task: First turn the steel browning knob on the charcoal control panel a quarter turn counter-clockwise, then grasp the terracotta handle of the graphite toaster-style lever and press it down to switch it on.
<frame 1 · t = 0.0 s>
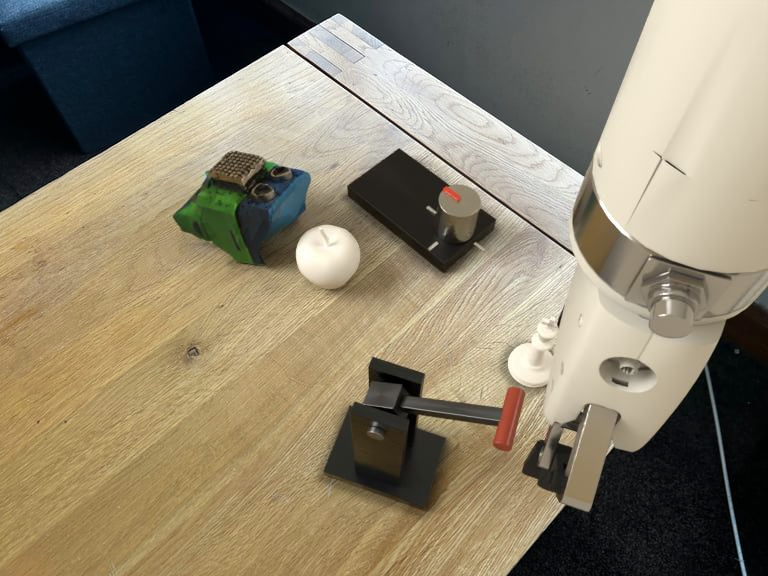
hand: (566, 400, 39), 27 cm above the table, tool pointing down, fingers open, 9 cm apart
lever: (441, 409, 50), point 16 cm above the table, hinge at 25.0°
plain white apple: (330, 275, 75), on the table
chess piece: (530, 366, 69), on the table
dial panel: (419, 212, 80), on the table
knob: (457, 213, 74), point 5 cm above the table, hinge at 0.0°
sculpture: (246, 227, 79), on the table
lever bracket: (385, 458, 64), on the table
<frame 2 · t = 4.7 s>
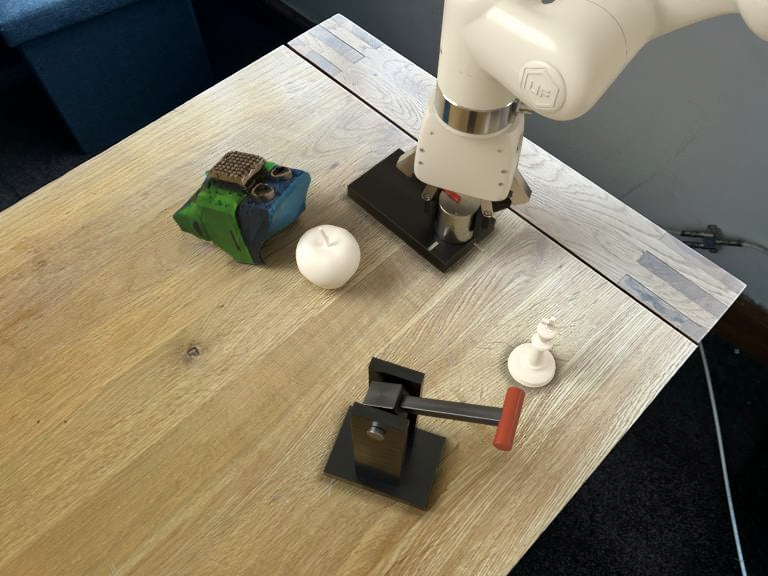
hand: (456, 221, 75), 3 cm above the table, tool pointing down, fingers closed on knob, 4 cm apart
knob: (457, 213, 74), point 5 cm above the table, hinge at 0.1°, touching gripper
everything else where it was.
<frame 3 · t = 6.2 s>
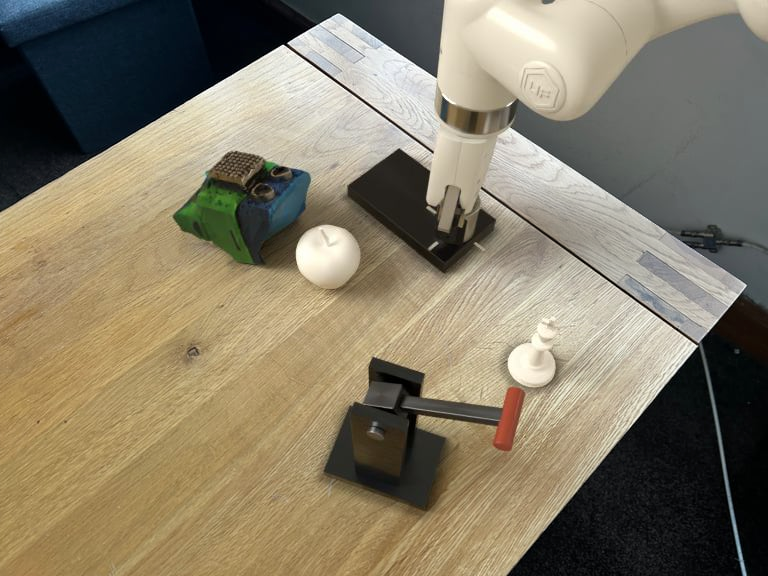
hand: (455, 221, 75), 3 cm above the table, tool pointing down, fingers closed on knob, 4 cm apart
knob: (457, 213, 74), point 5 cm above the table, hinge at 90.5°, touching gripper
everything else where it was.
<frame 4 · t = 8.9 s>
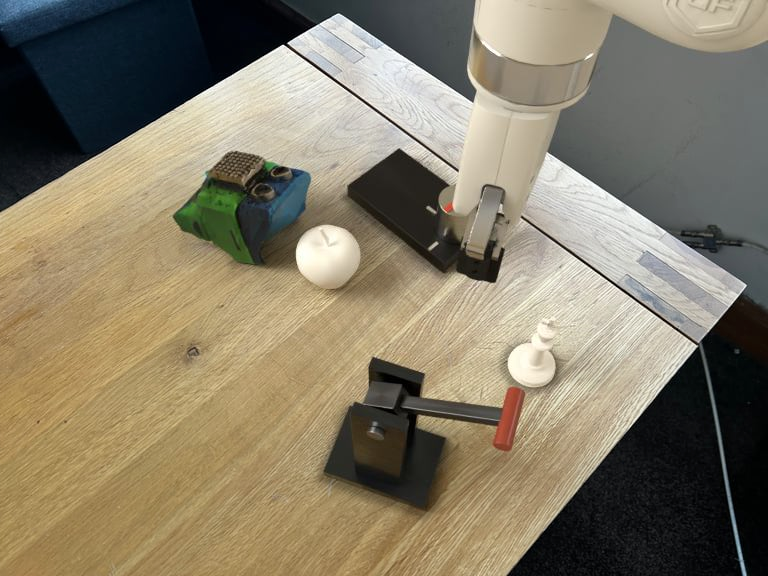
hand: (493, 228, 54), 20 cm above the table, tool pointing down, fingers open, 9 cm apart
knob: (457, 213, 74), point 5 cm above the table, hinge at 89.0°
everything else where it was.
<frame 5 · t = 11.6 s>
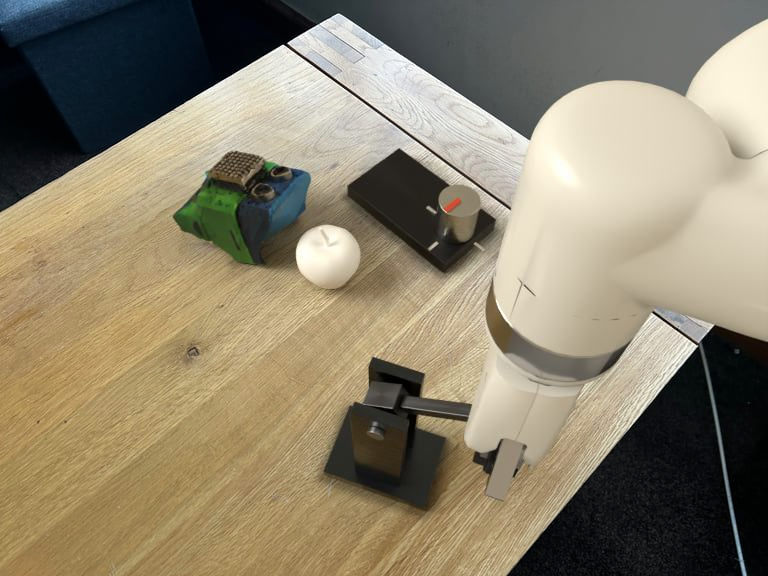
hand: (503, 431, 49), 16 cm above the table, tool pointing down, fingers closed on lever, 4 cm apart
lever: (441, 409, 50), point 16 cm above the table, hinge at 25.0°, touching gripper
everything else where it was.
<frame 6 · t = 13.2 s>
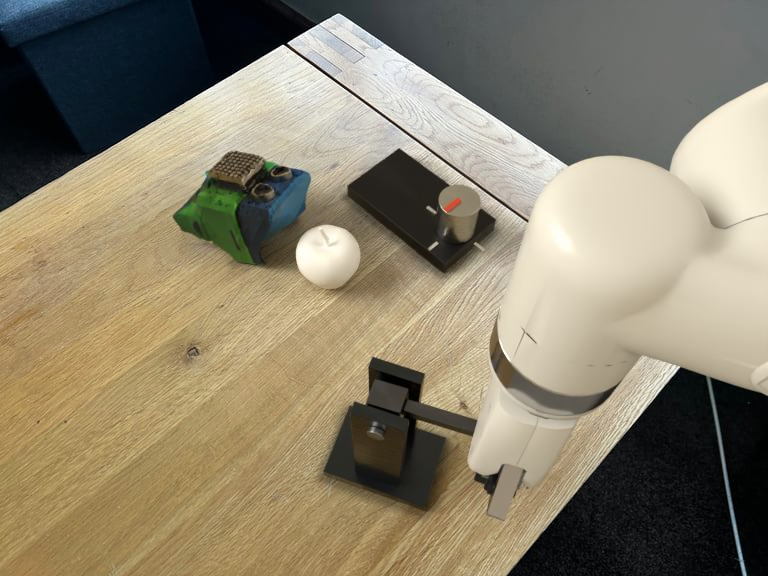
hand: (502, 451, 52), 12 cm above the table, tool pointing down, fingers closed on lever, 4 cm apart
lever: (444, 419, 51), point 14 cm above the table, hinge at 3.6°, touching gripper
everything else where it was.
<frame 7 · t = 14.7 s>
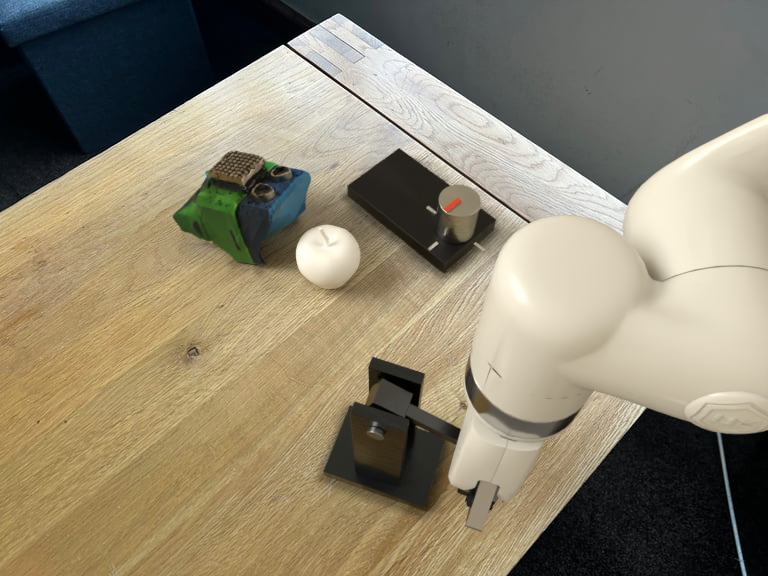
hand: (484, 465, 56), 7 cm above the table, tool pointing down, fingers closed on lever, 4 cm apart
lever: (438, 427, 53), point 12 cm above the table, hinge at -21.7°, touching gripper
everything else where it was.
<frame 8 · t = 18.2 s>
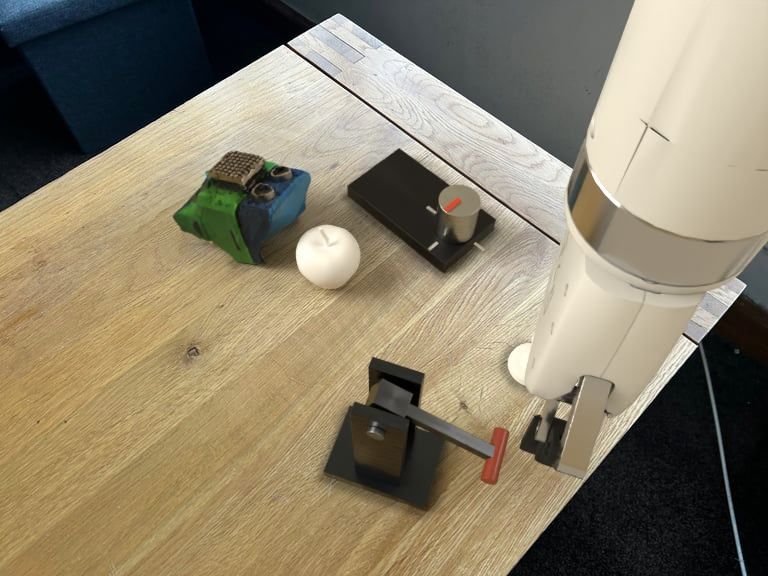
hand: (563, 379, 40), 26 cm above the table, tool pointing down, fingers open, 9 cm apart
lever: (438, 427, 53), point 12 cm above the table, hinge at -21.8°
everything else where it was.
at the end: knob at +89° (first picture: +0°); lever at -22° (first picture: +25°) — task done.
